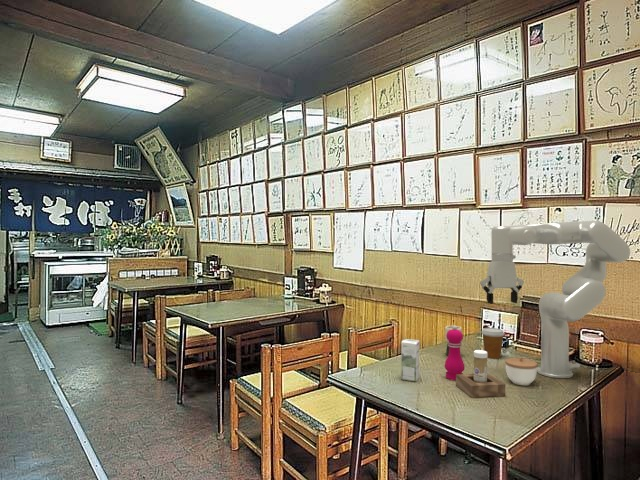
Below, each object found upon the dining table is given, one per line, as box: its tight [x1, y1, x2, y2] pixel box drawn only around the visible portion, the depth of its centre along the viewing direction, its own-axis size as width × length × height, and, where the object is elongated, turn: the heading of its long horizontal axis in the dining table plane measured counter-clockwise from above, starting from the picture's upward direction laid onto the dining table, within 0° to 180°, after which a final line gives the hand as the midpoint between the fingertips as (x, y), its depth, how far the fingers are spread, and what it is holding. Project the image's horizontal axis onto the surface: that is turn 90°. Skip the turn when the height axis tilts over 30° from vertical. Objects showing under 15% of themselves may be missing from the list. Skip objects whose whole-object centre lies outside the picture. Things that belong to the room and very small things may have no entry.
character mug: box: [444, 325, 463, 356], centre depth 196 cm, size 11×7×13 cm, turn 140°
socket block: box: [455, 372, 506, 399], centre depth 153 cm, size 12×12×4 cm
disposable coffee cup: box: [481, 327, 505, 360], centre depth 195 cm, size 10×10×12 cm
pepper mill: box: [444, 324, 465, 381], centre depth 166 cm, size 7×7×20 cm
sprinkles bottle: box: [473, 349, 488, 383], centre depth 153 cm, size 5×5×14 cm
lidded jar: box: [504, 356, 538, 386], centre depth 161 cm, size 11×11×9 cm
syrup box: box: [400, 338, 420, 382], centre depth 165 cm, size 6×6×14 cm
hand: (502, 302), depth 168 cm, fingers open, 9 cm apart
